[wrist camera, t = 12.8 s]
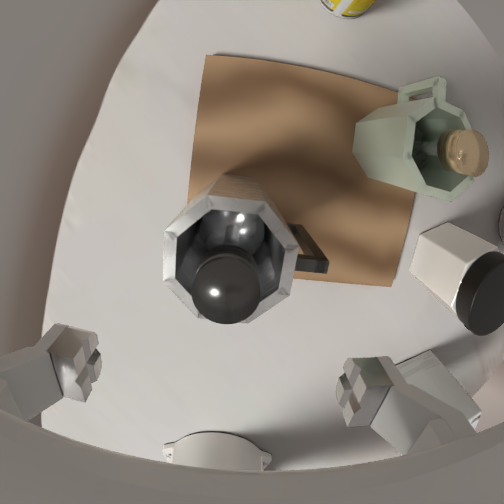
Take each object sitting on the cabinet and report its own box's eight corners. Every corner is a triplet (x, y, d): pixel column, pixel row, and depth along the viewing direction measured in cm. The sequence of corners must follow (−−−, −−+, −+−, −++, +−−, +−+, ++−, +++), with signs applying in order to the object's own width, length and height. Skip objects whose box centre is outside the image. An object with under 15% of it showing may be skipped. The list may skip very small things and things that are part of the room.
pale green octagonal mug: (409, 187, 28) (468, 207, 19) (348, 173, 28) (397, 188, 18) (420, 102, 25) (482, 93, 16) (360, 81, 25) (411, 58, 15)
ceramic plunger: (418, 177, 25) (490, 197, 15) (375, 166, 24) (442, 181, 15) (425, 128, 23) (499, 130, 14) (382, 114, 23) (451, 105, 13)
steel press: (289, 255, 30) (319, 328, 18) (193, 245, 30) (162, 313, 17) (301, 183, 28) (346, 213, 16) (199, 171, 27) (166, 191, 15)
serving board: (387, 282, 33) (391, 286, 32) (185, 262, 31) (183, 266, 30) (421, 104, 26) (427, 103, 25) (207, 58, 25) (206, 54, 23)
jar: (412, 297, 34) (463, 352, 23) (403, 239, 31) (466, 283, 20) (464, 271, 33) (520, 312, 22) (459, 214, 31) (526, 245, 19)
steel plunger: (259, 260, 24) (271, 343, 14) (199, 253, 24) (171, 333, 14) (267, 201, 23) (290, 248, 12) (204, 194, 23) (172, 235, 12)
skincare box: (384, 392, 40) (419, 466, 26) (383, 366, 38) (426, 445, 24) (430, 373, 39) (473, 437, 25) (433, 346, 37) (484, 412, 23)
